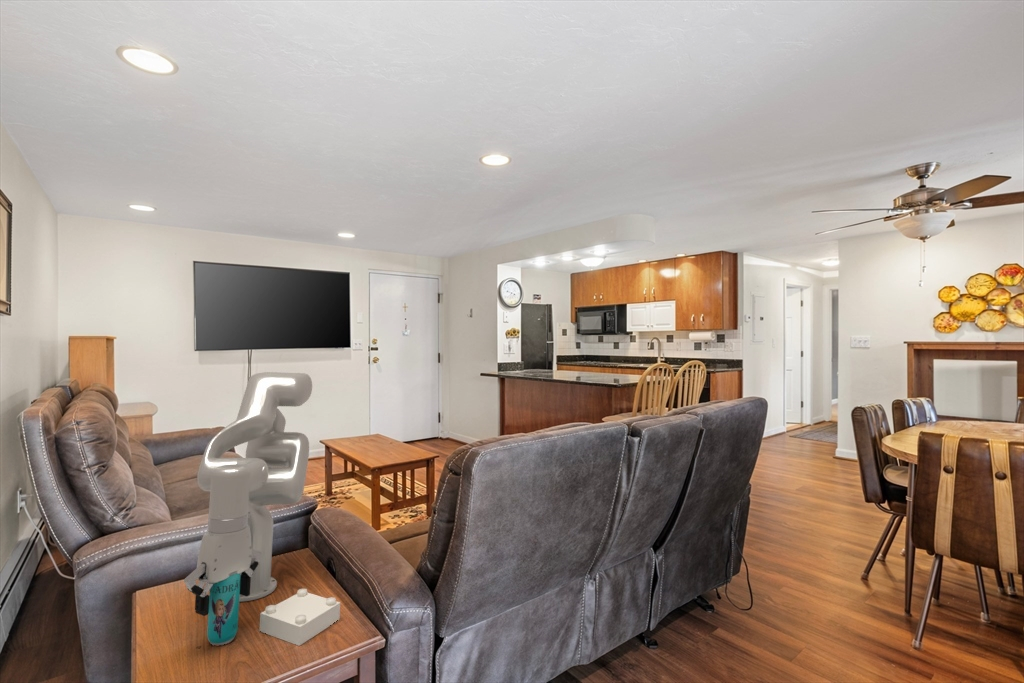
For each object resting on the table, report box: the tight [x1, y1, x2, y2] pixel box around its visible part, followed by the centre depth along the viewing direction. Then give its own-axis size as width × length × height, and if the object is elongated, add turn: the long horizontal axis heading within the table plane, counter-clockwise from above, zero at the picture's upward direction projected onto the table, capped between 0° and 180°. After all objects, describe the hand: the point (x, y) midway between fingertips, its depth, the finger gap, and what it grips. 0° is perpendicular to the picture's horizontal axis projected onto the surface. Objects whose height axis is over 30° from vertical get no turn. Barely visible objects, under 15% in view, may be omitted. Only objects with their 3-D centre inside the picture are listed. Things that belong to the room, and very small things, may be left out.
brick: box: [258, 588, 341, 647], centre depth 116 cm, size 12×12×5 cm
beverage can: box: [206, 571, 241, 646], centre depth 109 cm, size 6×6×15 cm
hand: (223, 603), depth 109 cm, fingers open, 9 cm apart
